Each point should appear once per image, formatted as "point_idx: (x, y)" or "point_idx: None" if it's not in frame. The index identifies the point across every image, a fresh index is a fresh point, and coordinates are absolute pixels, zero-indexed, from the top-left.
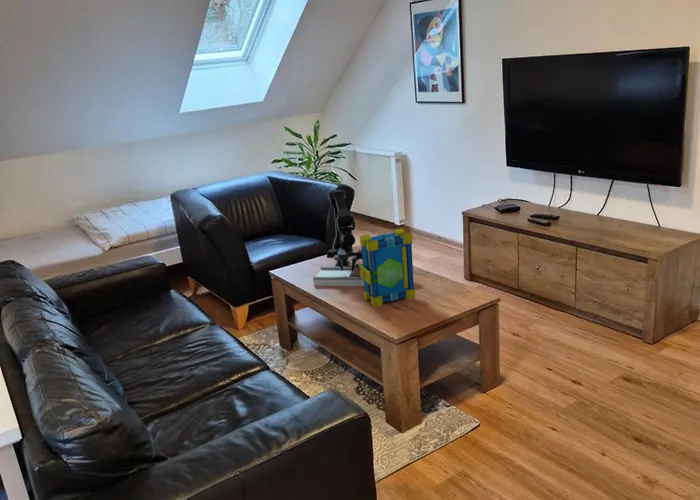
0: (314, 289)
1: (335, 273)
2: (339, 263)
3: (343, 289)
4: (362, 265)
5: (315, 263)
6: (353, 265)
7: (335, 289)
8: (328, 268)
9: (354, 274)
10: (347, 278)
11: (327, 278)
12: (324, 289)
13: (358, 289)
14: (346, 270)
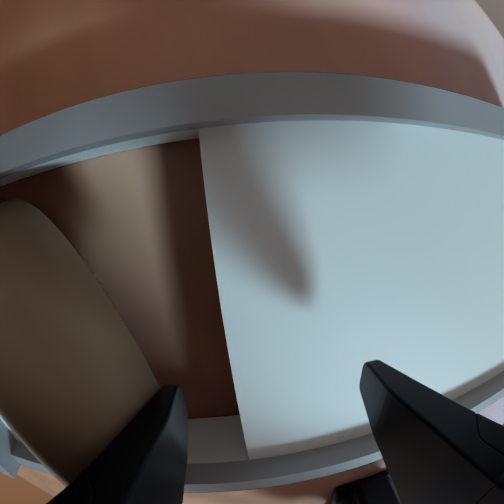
0: (482, 46)
1: (430, 339)
2: (494, 438)
3: (214, 6)
4: (62, 481)
5: None
6: (97, 473)
7: (314, 4)
8: (476, 397)
9: (70, 258)
10: (169, 86)
11: (489, 107)
12: (420, 23)
13: (44, 55)
14: (318, 437)
